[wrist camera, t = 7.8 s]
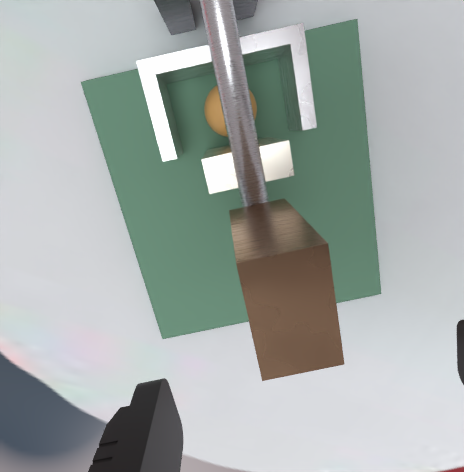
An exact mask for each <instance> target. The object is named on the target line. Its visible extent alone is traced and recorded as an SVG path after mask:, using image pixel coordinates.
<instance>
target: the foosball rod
mask: <svg viewBox="0 0 464 472" xmlns="http://www.w3.org/2000/svg"><path fill="white" fill-rule="evenodd" d="M200 5H201V9H202V14H203V19H204V24H205V29H206V34H207V38H208V43H209V48H210V53H211V58H212V63H213V67H214V72H215V77H216V82H217V87H218V92H219V96H220V101H221V106H222V111H223V116H224V121H225V125H226V130H227V135H228V140H229V145H227V146H222V147H218V148H213V149H209V150H207V151H206V152H205V154H204V156H203V158H202V163H203V168H204V172H205V176H206V180H207V185H208V189H209V193H210V194H212V193H217V192H221V191H226V190H230V189H235V188H239V193H240V198H241V203H242V208H237V209H233V210H229V215H230V222H231V230H232V237H233V244H234V252H235V259H236V265H237V270H238V274H239V279H240V283H241V288H242V292H243V297H244V301H245V305H246V310H247V314H248V319H249V323H250V328H251V332H252V337H253V341H254V346H255V350H256V355H257V359H258V363H259V368H260V372H261V377H262V381H264V380H269V379H274V378H279V377H284V376H289V375H294V374H299V373H304V372H309V371H314V370H319V369H324V368H329V367H333V366H338V365H343V364H344V358H343V351H342V343H341V336H340V328H339V321H338V313H337V306H336V298H335V291H334V283H333V275H332V268H331V260H330V253H329V245H328V243H327V242H326V241H325V240H324V239H323V238H322V237H321V235H320V234H319V233H318V232H317V231H316V230H315V229H314V228H313V227H312V226H311V225H310V224H309V223H308V222H307V221H306V220H305V219H304V218H303V217H302V216H301V215H300V214H299V213H298V212H297V211H296V210H295V209H294V208H293V207H292V206H291V204H290V203H289V202H288V201H287V200H286V199H285V198H284V199H279V200H274V201H270V202H269V198H268V192H267V187H266V182H267V181H272V180H276V179H281V178H285V177H290V176H294V169H293V163H292V156H291V150H290V143H289V140H284V139H277V138H271V137H263V138H259V139H258V137H257V132H256V126H255V121H254V115H253V110H252V104H251V99H250V93H249V88H248V82H247V77H246V71H245V66H244V60H243V55H242V49H241V44H240V38H239V33H238V27H237V22H236V16H235V11H234V5H233V0H200Z"/></svg>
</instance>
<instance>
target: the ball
mask: <svg viewBox="0 0 464 472" xmlns="http://www.w3.org/2000/svg"><path fill="white" fill-rule="evenodd" d="M249 93H250V99H251V104H252V110H253V115H254V121H255V118H256V114H257V104H256V100H255V97H254V95H253V94H252V92H251V91H250V90H249ZM204 113H205V118H206V120H207V123H208V124H209V126H210V127H211V128H212V130H214V131H215V132H216V133H218V134H219V135H222V136H225V137H228V135H227V130H226V125H225V121H224V116H223V111H222V106H221V101H220V96H219V92H218V87H217V85H216V86H215V87H214V88H213V89H212V90H211V91H210V92H209V94H208V96H207V98H206V101H205V105H204Z"/></svg>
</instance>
